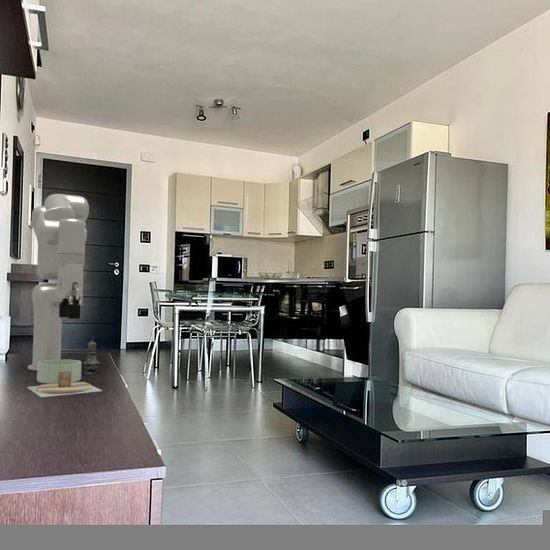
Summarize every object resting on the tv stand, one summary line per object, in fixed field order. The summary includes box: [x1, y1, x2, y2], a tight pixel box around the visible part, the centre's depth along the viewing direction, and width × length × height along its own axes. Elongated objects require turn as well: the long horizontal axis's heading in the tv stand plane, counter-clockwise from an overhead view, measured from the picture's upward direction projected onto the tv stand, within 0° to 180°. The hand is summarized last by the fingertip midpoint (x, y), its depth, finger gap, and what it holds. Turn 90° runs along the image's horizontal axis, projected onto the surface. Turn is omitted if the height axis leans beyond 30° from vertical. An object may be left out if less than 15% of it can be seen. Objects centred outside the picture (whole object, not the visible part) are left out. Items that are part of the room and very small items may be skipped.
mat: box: [26, 381, 103, 398], centre depth 154 cm, size 17×17×1 cm
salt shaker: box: [82, 339, 101, 375], centre depth 186 cm, size 6×6×12 cm
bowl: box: [36, 359, 82, 384], centre depth 169 cm, size 13×13×6 cm
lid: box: [36, 372, 92, 395], centre depth 154 cm, size 15×15×5 cm
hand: (69, 317), depth 155 cm, fingers open, 9 cm apart
